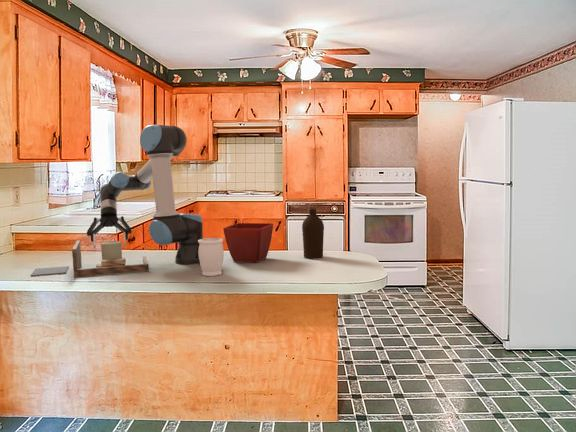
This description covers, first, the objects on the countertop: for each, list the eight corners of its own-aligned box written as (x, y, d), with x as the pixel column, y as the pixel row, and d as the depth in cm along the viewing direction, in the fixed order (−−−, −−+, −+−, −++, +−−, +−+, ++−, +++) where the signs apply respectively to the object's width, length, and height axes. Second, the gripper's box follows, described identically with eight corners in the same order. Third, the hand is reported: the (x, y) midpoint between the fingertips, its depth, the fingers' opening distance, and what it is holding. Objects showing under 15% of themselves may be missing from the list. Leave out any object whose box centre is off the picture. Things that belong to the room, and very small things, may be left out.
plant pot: (223, 263, 244) (222, 227, 242) (239, 255, 262) (238, 222, 260) (261, 264, 239) (260, 228, 237) (274, 257, 257) (273, 223, 255)
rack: (146, 260, 254) (144, 236, 253) (148, 270, 230) (147, 244, 229) (78, 265, 245) (76, 240, 243) (73, 277, 221) (72, 249, 219)
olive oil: (312, 260, 247) (311, 208, 244) (298, 257, 255) (297, 206, 252) (328, 257, 254) (328, 206, 251) (314, 254, 262) (313, 205, 259)
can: (102, 269, 234) (100, 243, 233) (101, 266, 243) (100, 240, 241) (123, 267, 237) (122, 242, 236) (122, 264, 246) (120, 239, 245)
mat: (68, 267, 241) (68, 266, 241) (65, 273, 227) (65, 272, 227) (35, 270, 236) (35, 268, 236) (30, 276, 223) (30, 275, 223)
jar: (199, 277, 215) (198, 242, 213) (198, 272, 225) (197, 238, 223) (225, 276, 217) (224, 240, 215) (223, 270, 227) (222, 237, 225)
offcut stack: (130, 269, 236) (129, 257, 235) (130, 271, 231) (130, 259, 230) (95, 272, 231) (94, 260, 230) (94, 274, 226) (94, 262, 225)
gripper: (135, 214, 262) (137, 248, 249) (82, 216, 254) (82, 252, 242) (134, 204, 256) (137, 239, 244) (80, 207, 249) (80, 242, 236)
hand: (109, 245), depth 243 cm, fingers open, 13 cm apart
